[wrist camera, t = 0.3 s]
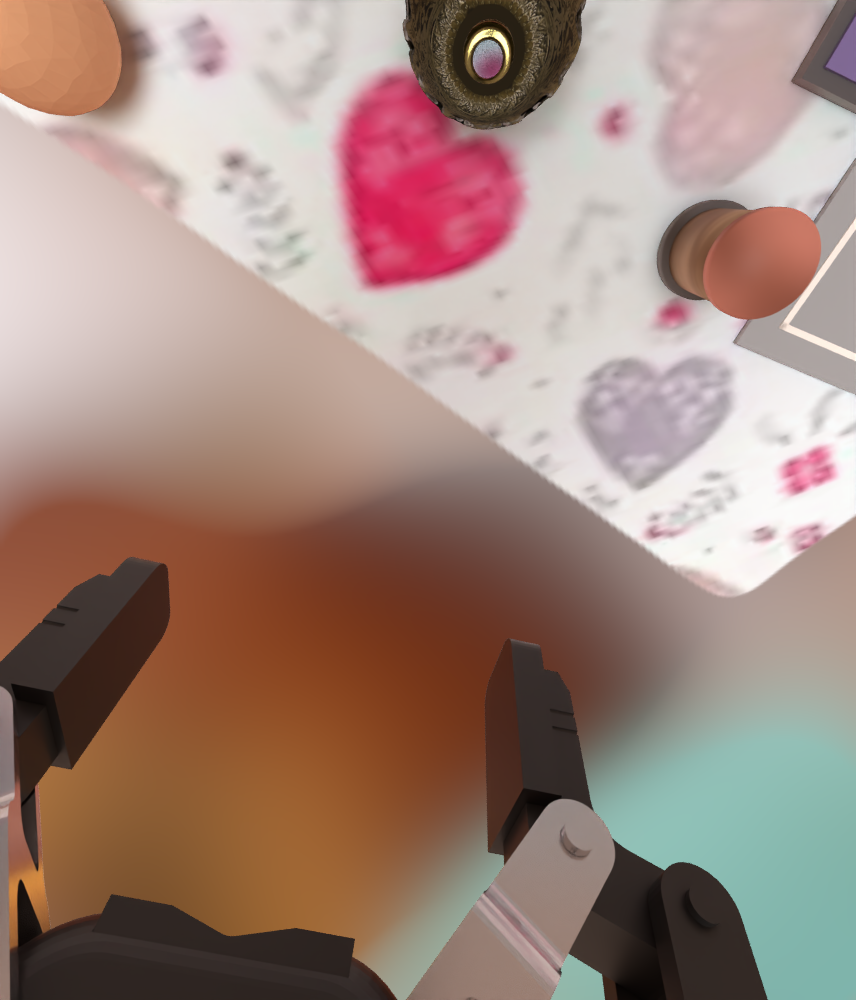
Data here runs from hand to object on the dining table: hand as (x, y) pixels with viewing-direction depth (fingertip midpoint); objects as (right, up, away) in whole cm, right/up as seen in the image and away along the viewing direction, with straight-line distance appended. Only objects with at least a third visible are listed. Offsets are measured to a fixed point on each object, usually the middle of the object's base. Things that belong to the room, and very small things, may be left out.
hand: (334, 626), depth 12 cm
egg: (-17, +28, +17) cm, 37 cm away
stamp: (+19, +18, +20) cm, 33 cm away
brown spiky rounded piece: (+5, +27, +16) cm, 32 cm away
